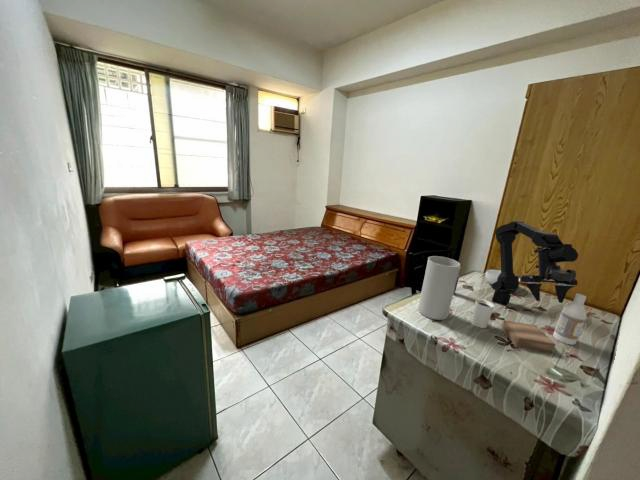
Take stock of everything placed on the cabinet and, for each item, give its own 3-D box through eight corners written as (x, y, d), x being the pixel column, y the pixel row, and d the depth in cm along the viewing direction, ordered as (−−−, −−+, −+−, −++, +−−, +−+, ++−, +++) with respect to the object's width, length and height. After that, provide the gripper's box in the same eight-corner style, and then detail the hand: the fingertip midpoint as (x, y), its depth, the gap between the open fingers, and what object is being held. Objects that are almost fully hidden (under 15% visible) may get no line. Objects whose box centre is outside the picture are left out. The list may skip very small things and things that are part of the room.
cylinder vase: (434, 304, 126) (444, 255, 119) (454, 318, 114) (467, 266, 107) (412, 306, 122) (422, 256, 115) (430, 322, 110) (442, 267, 103)
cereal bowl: (479, 278, 163) (482, 267, 161) (509, 282, 159) (512, 272, 157) (488, 289, 147) (492, 278, 145) (522, 295, 143) (526, 283, 141)
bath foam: (566, 346, 101) (585, 300, 96) (548, 334, 108) (564, 291, 102) (580, 344, 103) (598, 299, 97) (560, 333, 109) (577, 290, 104)
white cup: (490, 329, 108) (497, 308, 105) (473, 326, 109) (479, 305, 107) (484, 321, 114) (490, 300, 112) (468, 318, 116) (473, 298, 113)
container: (456, 292, 140) (462, 266, 136) (453, 295, 136) (459, 269, 132) (447, 289, 143) (452, 264, 139) (444, 292, 139) (450, 266, 135)
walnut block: (501, 328, 110) (504, 320, 109) (533, 333, 108) (536, 325, 107) (516, 347, 98) (519, 337, 97) (552, 353, 96) (555, 344, 95)
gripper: (541, 260, 99) (543, 302, 97) (590, 263, 99) (593, 305, 97) (519, 262, 110) (520, 299, 108) (563, 265, 110) (565, 302, 108)
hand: (549, 301), depth 105 cm, fingers open, 9 cm apart
